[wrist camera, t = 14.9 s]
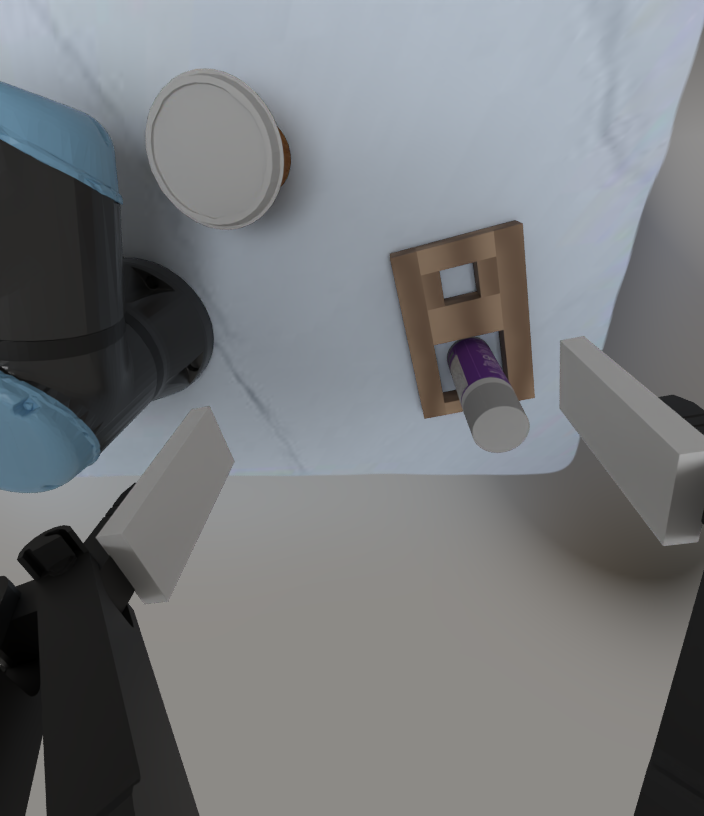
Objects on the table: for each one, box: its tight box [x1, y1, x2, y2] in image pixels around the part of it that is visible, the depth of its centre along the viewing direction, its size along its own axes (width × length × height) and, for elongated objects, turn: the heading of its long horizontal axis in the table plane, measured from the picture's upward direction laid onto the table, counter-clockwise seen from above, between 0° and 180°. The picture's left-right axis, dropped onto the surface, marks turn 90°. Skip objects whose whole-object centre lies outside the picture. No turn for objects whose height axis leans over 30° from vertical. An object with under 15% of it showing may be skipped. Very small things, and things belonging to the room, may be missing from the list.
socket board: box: [390, 220, 535, 419], centre depth 44 cm, size 12×18×2 cm, turn 15°
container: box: [447, 337, 530, 453], centre depth 40 cm, size 5×5×15 cm
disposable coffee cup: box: [145, 69, 291, 230], centre depth 33 cm, size 10×10×12 cm
